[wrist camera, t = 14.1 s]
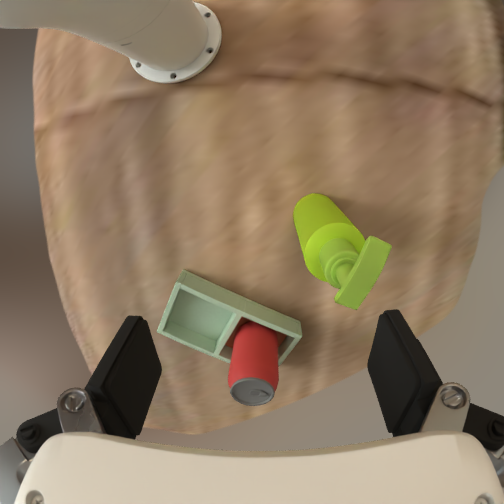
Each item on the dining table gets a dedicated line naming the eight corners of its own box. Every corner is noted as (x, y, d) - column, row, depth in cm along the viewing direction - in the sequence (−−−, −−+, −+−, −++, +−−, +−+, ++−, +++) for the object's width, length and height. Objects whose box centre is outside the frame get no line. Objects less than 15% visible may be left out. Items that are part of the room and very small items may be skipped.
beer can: (270, 354, 46) (270, 411, 35) (231, 346, 46) (221, 402, 35) (282, 324, 43) (285, 382, 32) (240, 314, 43) (231, 371, 32)
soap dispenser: (347, 197, 37) (415, 258, 18) (325, 242, 39) (367, 334, 21) (307, 178, 36) (347, 225, 18) (285, 226, 39) (300, 312, 20)
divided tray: (163, 318, 46) (156, 332, 42) (183, 269, 42) (176, 281, 38) (269, 362, 48) (269, 378, 44) (300, 321, 44) (302, 336, 41)
